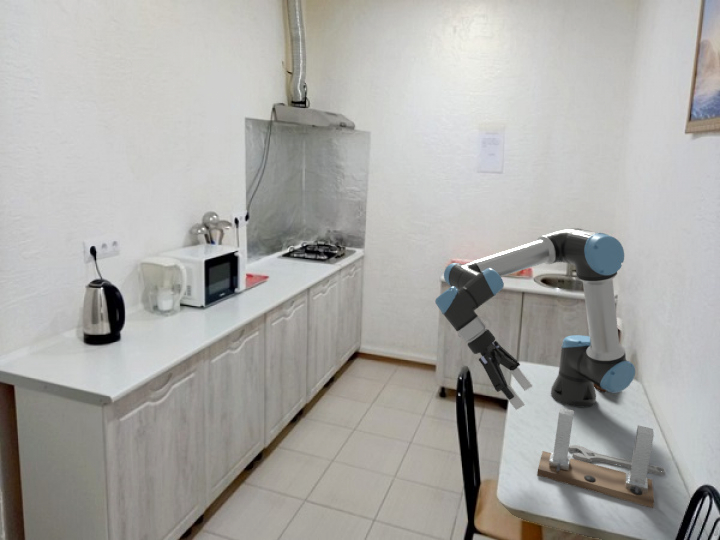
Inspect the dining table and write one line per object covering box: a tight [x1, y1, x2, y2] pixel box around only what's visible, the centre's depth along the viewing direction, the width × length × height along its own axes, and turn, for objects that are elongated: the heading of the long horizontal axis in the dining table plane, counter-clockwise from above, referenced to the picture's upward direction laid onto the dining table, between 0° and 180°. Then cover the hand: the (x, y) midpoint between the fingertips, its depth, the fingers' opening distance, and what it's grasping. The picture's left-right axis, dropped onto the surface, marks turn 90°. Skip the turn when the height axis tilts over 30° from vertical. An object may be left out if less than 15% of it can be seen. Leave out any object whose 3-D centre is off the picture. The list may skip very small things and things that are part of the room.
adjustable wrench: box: [568, 444, 666, 476], centre depth 151 cm, size 25×6×2 cm, turn 65°
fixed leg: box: [625, 424, 655, 493], centre depth 136 cm, size 7×5×16 cm
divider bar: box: [536, 450, 655, 509], centre depth 143 cm, size 10×28×2 cm, turn 64°
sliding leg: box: [549, 407, 575, 471], centre depth 144 cm, size 7×5×16 cm
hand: (524, 397), depth 147 cm, fingers open, 13 cm apart
